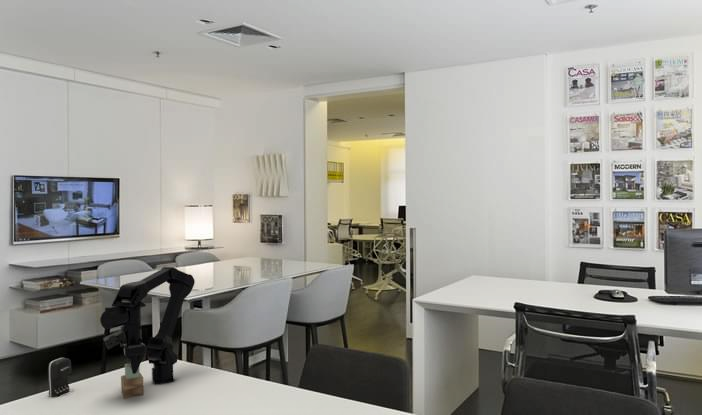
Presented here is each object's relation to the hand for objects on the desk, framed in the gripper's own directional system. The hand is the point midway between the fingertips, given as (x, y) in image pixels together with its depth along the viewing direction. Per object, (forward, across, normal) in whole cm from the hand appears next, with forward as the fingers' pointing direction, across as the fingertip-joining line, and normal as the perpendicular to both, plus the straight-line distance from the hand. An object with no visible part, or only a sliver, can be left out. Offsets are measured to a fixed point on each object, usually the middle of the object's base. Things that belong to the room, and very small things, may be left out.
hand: (132, 369), depth 177 cm
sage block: (+2, 0, 0) cm, 2 cm away
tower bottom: (+8, 0, 0) cm, 8 cm away
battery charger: (+8, -13, -21) cm, 26 cm away
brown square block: (+5, 0, 0) cm, 5 cm away
